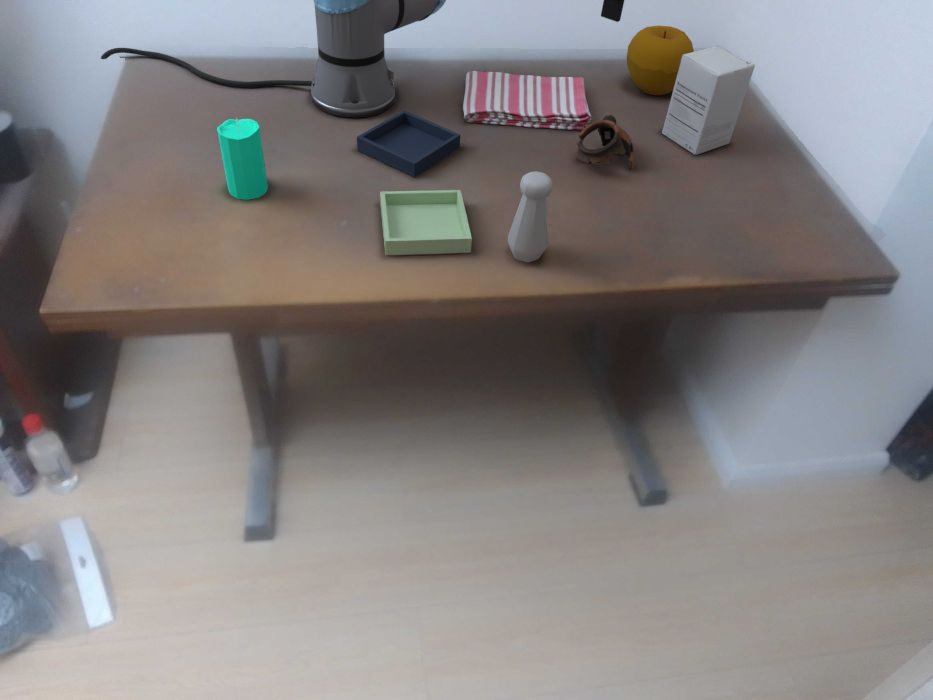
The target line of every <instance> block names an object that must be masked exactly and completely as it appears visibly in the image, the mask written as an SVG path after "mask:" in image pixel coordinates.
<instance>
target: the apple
mask: <svg viewBox="0 0 933 700" xmlns="http://www.w3.org/2000/svg"><path fill="white" fill-rule="evenodd" d="M694 50H695V49H694V46H693V42H692V40H691V39H690V38H689V36H688V35H687V33H686V32H685V31H683V30H681V29H679V28H677V27H673V26H668V25H653V26H651V25H650V26H646V27H644V28H642V29H640V30H639V31H637V32H636V33H635V35H634V36H633V37H632V38H631V40H630V42H629V44H628V45H627V53H626V66H627V70H628V74H629V76H630V78H631V80H632V83H633V84H634V85H635V86H636V88H638V90H640V91H642V92H643V93H645V94H647V95H651V96H665V95H667V94H670V93H672V92H673V89H674V86H675V82H676V78H677V74H678V71H679V67H680V63H681V59H682V55H683V54H687V53H691V52H695V51H694Z"/></svg>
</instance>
